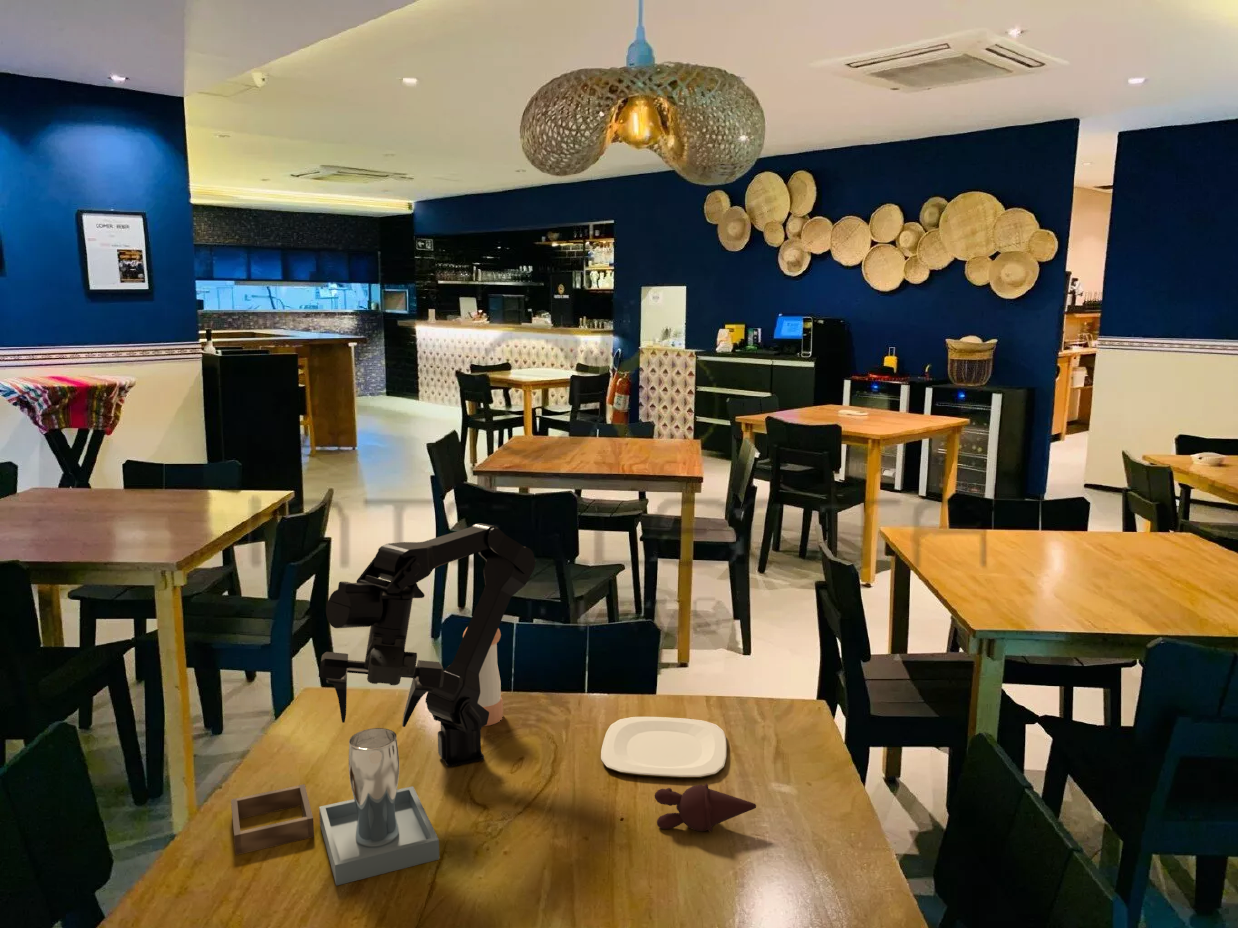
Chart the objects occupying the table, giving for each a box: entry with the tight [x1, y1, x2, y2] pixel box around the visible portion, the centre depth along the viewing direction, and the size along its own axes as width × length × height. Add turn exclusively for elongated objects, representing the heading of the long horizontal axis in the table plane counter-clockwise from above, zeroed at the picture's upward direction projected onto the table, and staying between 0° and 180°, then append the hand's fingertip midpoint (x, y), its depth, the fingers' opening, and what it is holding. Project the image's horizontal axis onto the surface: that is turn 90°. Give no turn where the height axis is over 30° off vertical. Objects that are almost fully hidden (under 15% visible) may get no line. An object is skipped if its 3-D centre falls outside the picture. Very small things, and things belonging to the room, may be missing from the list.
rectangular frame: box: [230, 784, 315, 856], centre depth 133 cm, size 11×11×3 cm
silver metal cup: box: [348, 727, 400, 847], centre depth 129 cm, size 7×7×15 cm
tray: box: [318, 785, 440, 887], centre depth 130 cm, size 14×16×3 cm
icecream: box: [654, 782, 757, 833], centre depth 134 cm, size 7×7×15 cm
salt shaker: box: [462, 626, 504, 727], centre depth 169 cm, size 7×7×19 cm
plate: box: [600, 716, 727, 779], centre depth 158 cm, size 22×22×2 cm
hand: (373, 724), depth 140 cm, fingers open, 9 cm apart
